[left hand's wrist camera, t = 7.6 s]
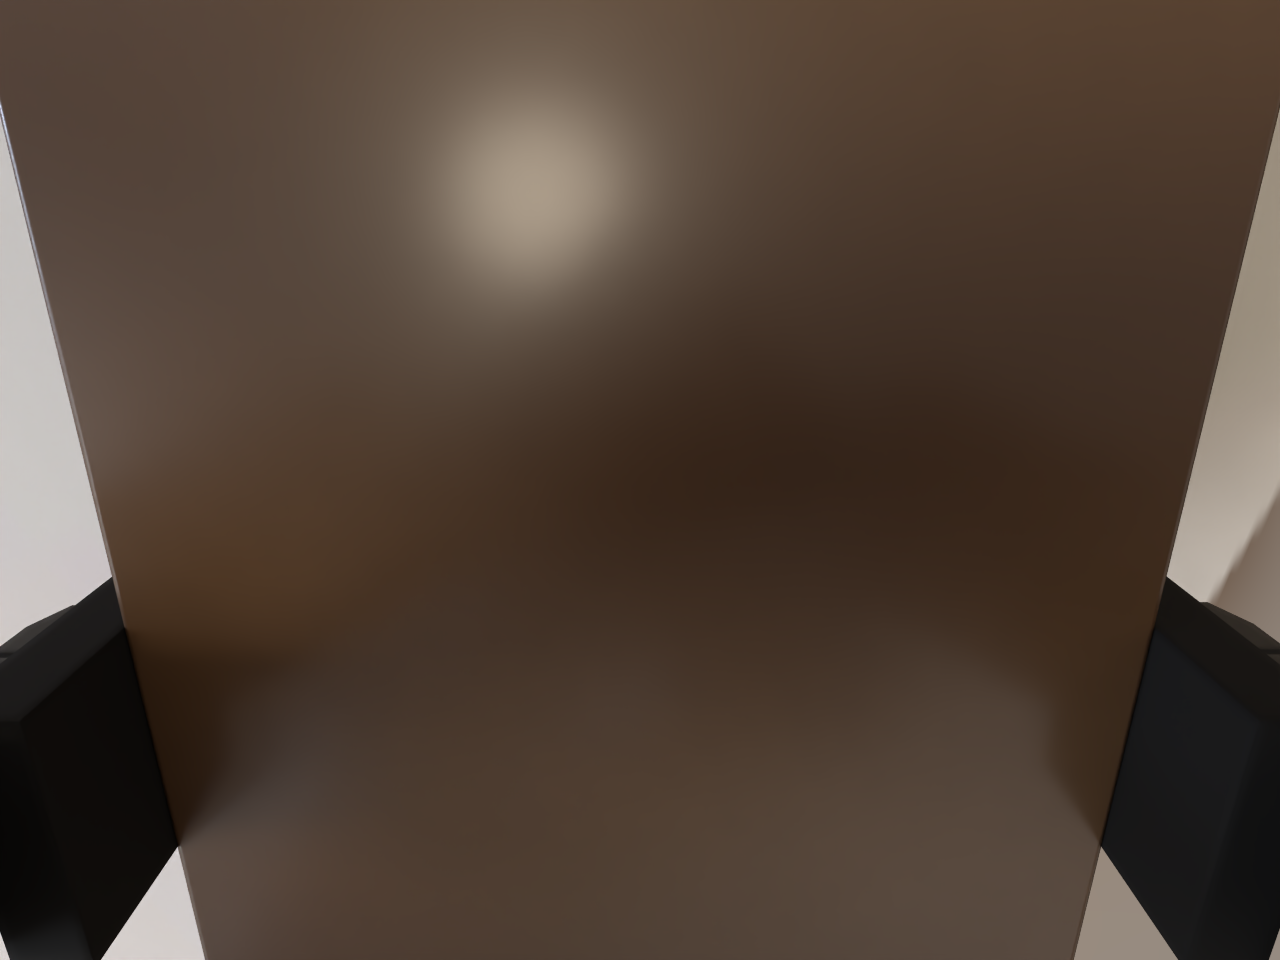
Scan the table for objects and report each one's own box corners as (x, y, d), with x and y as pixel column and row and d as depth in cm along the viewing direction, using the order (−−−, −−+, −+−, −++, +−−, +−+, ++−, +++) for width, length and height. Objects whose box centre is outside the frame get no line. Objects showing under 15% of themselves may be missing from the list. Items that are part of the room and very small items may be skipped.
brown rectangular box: (307, -466, 13) (-546, -2093, 4) (970, -466, 13) (1823, -2093, 4) (421, 636, 19) (224, 1056, 10) (857, 636, 19) (1054, 1055, 10)
